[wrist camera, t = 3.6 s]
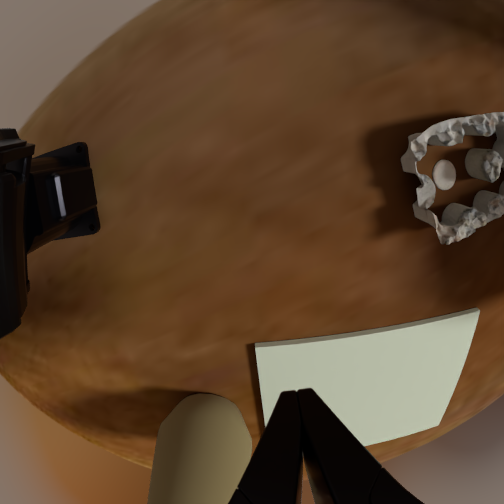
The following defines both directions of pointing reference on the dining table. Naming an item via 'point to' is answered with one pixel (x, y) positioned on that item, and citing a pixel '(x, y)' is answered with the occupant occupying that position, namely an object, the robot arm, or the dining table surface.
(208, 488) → the tan nozzle bottle
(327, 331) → the dining table surface
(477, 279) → the dining table surface
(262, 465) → the robot arm
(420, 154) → the egg carton
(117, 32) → the dining table surface
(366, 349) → the mat
